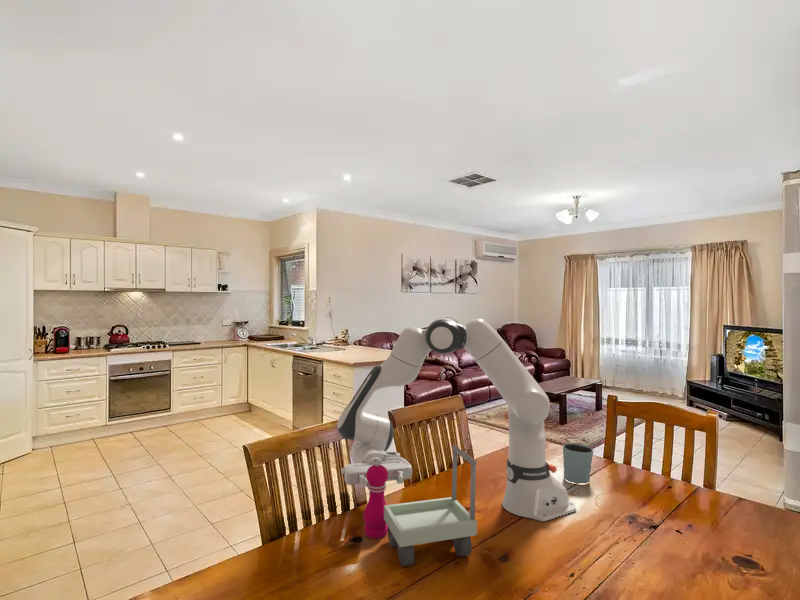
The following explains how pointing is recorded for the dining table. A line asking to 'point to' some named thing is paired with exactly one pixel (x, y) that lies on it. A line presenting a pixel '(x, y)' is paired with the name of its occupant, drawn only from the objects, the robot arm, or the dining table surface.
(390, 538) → the serving trolley
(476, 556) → the dining table surface
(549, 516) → the robot arm
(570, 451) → the grey cup
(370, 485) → the pepper mill
